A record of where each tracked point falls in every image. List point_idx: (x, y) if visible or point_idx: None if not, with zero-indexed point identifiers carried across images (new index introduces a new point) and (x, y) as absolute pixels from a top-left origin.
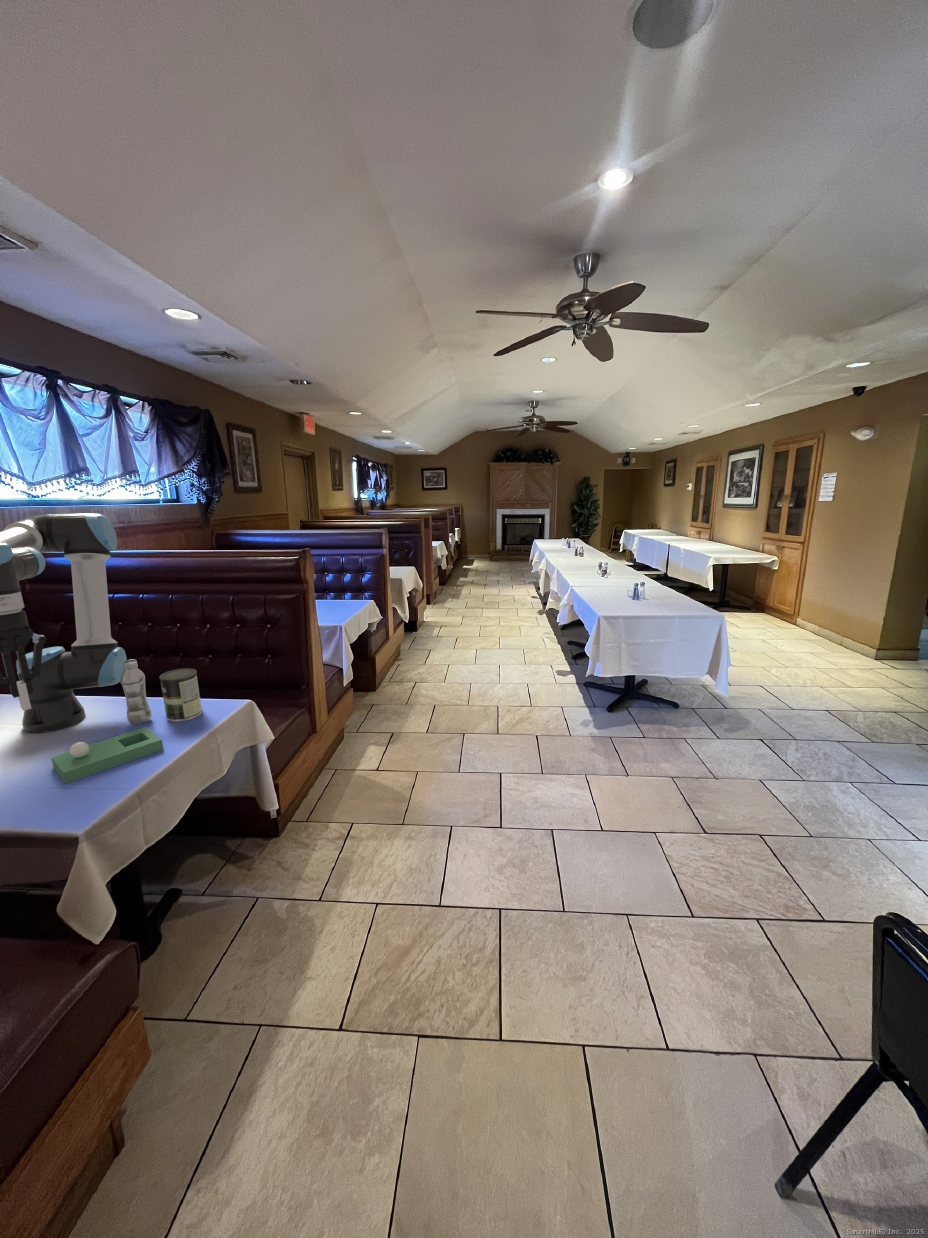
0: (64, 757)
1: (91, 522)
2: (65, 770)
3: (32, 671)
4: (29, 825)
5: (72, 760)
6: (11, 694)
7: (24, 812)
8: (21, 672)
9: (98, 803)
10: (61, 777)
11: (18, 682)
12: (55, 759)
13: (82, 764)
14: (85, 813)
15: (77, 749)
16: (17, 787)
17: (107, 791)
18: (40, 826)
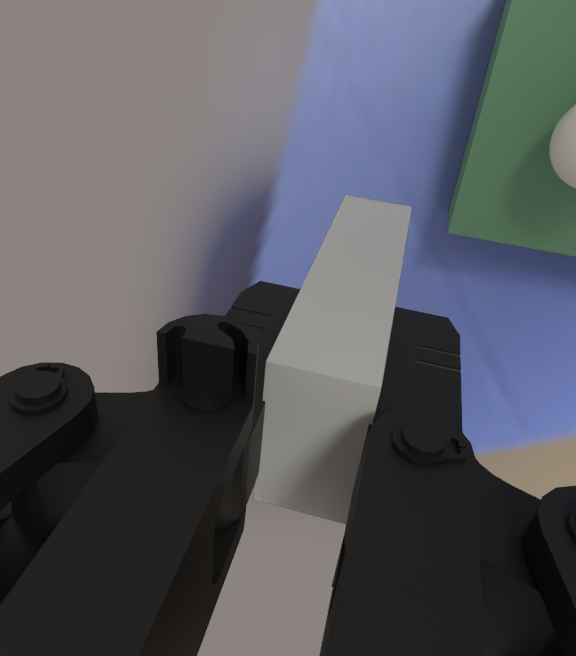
0: (550, 52)
1: None
2: (465, 218)
3: (549, 596)
4: None
5: (543, 137)
6: (239, 301)
7: (288, 282)
8: (335, 595)
9: None
10: (466, 147)
11: (295, 428)
12: (513, 31)
13: (535, 228)
14: None
15: (574, 186)
16: (331, 52)
17: (487, 388)
18: None
